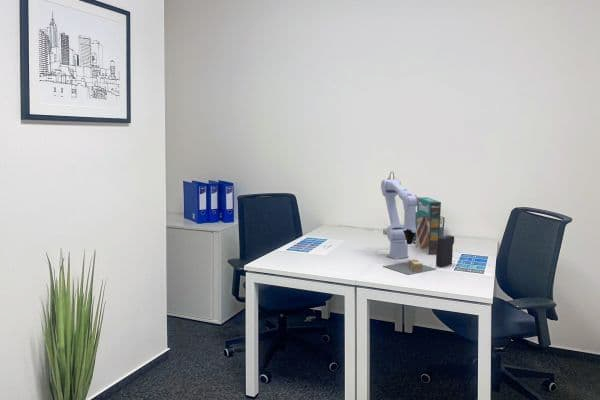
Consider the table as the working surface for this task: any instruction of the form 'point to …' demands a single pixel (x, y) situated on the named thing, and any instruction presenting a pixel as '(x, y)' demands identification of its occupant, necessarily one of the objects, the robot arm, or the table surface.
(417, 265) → the maple block
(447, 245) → the small drawer cabinet
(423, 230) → the cake mix box
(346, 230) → the table surface
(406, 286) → the table surface
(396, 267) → the mat
